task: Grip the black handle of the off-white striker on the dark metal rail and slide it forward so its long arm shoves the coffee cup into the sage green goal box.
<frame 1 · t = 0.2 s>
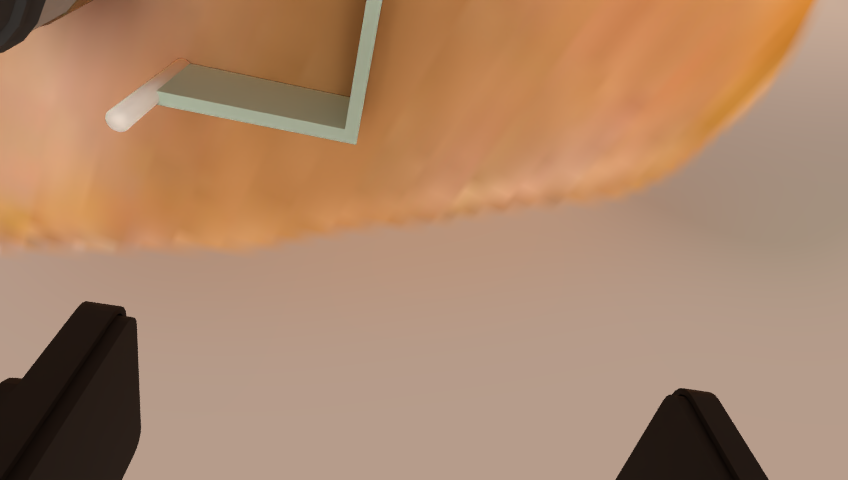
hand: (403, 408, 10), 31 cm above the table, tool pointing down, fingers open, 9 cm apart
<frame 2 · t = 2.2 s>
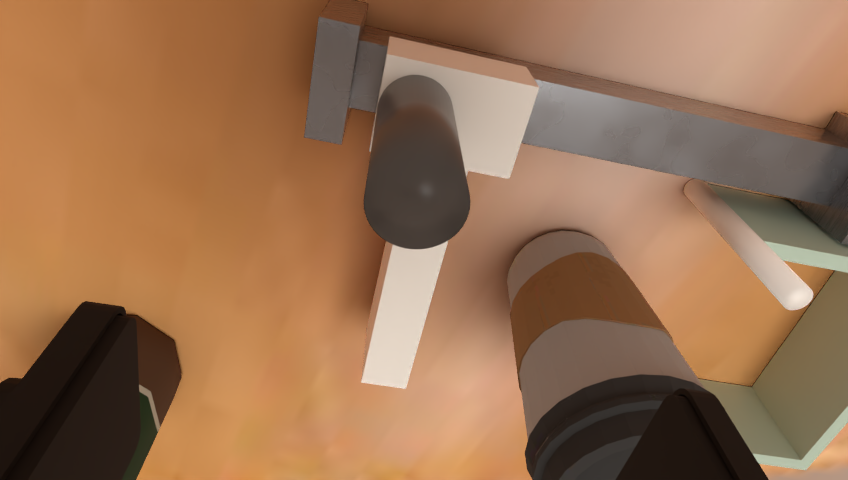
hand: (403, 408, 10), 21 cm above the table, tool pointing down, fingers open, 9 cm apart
coffee cup: (557, 269, 35), on the table
rail: (596, 109, 29), on the table
goal: (724, 301, 36), on the table
striker: (417, 275, 25), point 8 cm above the table, slide at 0.0 cm
beer bottle: (126, 352, 38), on the table
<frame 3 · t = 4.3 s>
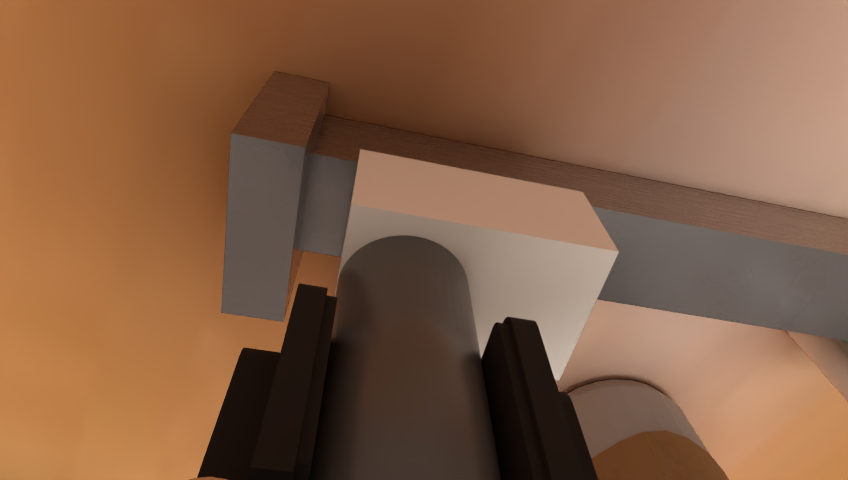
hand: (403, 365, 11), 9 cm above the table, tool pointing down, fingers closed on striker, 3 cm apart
coffee cup: (603, 424, 25), on the table
rail: (672, 226, 20), on the table
goal: (826, 457, 27), on the table
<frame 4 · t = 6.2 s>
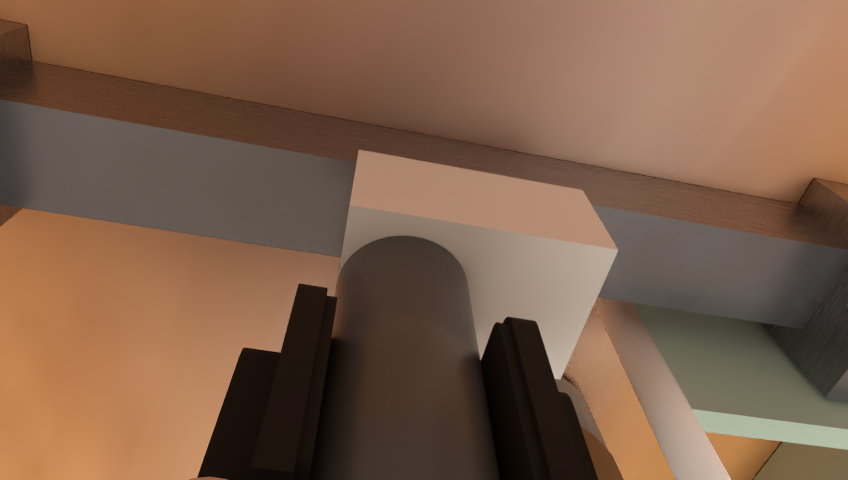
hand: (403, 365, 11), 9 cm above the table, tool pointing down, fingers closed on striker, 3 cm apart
coffee cup: (509, 410, 25), on the table
rail: (438, 182, 19), on the table
goal: (666, 433, 25), on the table
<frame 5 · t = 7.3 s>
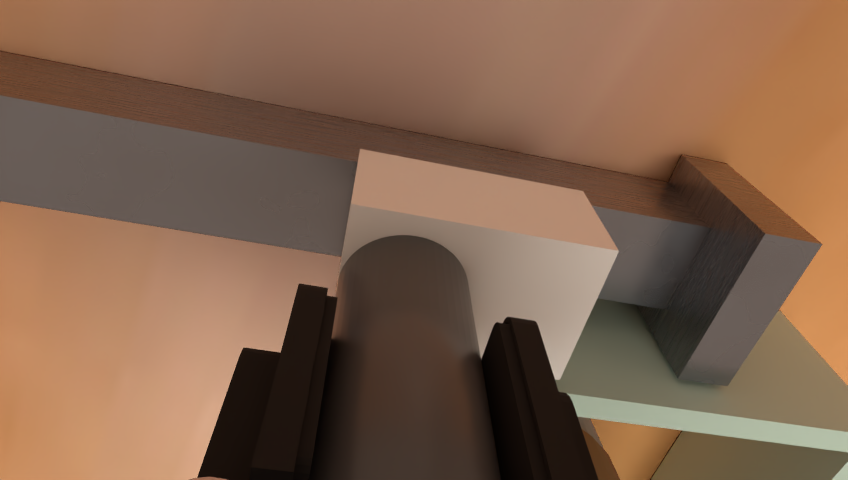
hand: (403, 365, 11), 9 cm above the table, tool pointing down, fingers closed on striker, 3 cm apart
coffee cup: (505, 410, 25), on the table, touching striker
rail: (291, 154, 18), on the table
goal: (561, 421, 25), on the table
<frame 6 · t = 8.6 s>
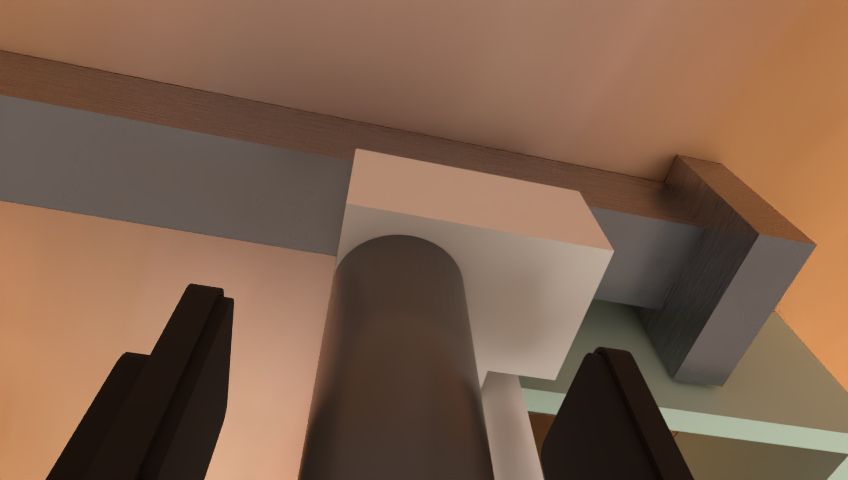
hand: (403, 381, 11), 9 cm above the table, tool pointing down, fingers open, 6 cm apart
coffee cup: (502, 410, 25), on the table
rail: (286, 154, 18), on the table
goal: (557, 421, 25), on the table
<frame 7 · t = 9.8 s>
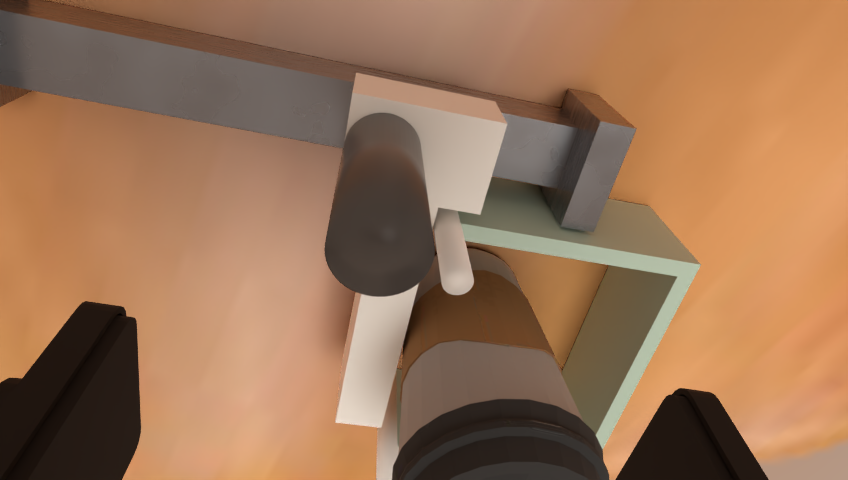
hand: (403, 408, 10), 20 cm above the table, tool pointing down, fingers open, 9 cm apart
coffee cup: (461, 288, 34), on the table
rail: (309, 88, 27), on the table
goal: (501, 297, 34), on the table
striker: (389, 314, 24), point 8 cm above the table, slide at 13.1 cm
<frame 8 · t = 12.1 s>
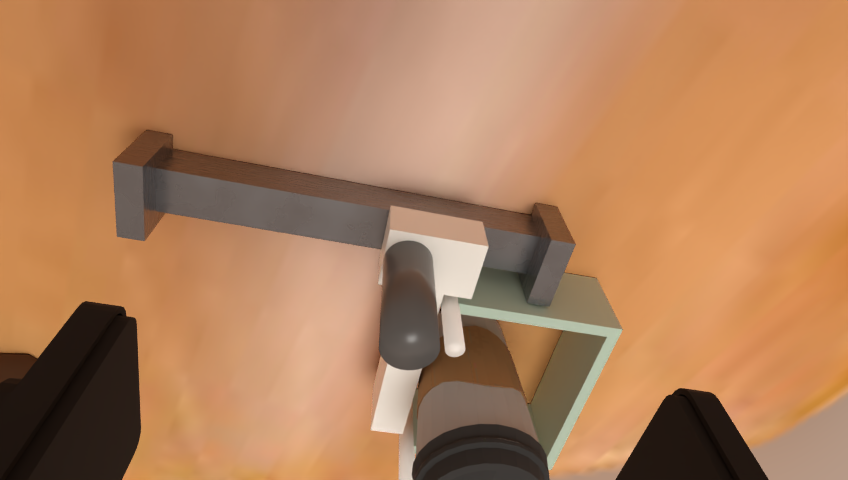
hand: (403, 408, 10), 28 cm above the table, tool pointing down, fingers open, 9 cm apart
coffee cup: (461, 332, 46), on the table
rail: (356, 202, 40), on the table
goal: (490, 338, 47), on the table
striker: (410, 363, 37), point 8 cm above the table, slide at 13.1 cm
beer bottle: (24, 382, 48), on the table
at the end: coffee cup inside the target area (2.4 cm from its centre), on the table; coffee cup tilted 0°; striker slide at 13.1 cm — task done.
